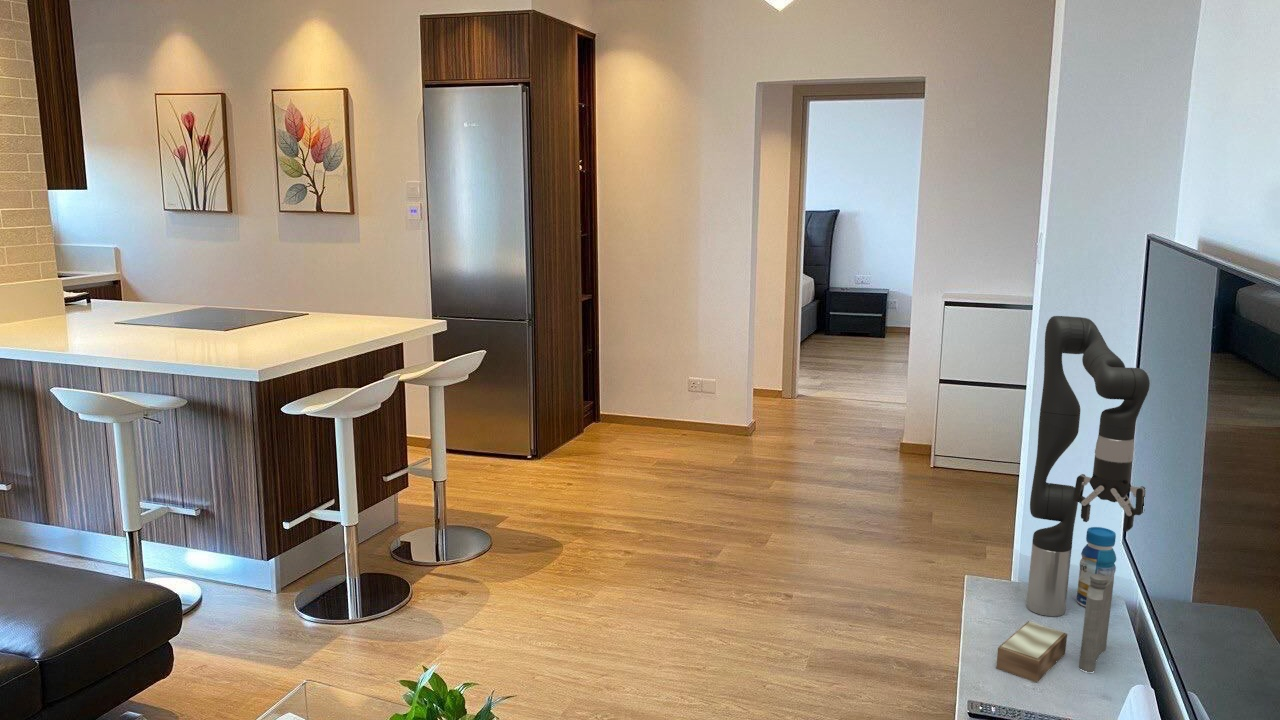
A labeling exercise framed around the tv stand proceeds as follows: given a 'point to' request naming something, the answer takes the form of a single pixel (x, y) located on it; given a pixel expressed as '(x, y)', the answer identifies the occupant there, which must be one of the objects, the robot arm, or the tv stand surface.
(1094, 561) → the beverage bottle
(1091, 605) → the hip flask
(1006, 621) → the tv stand surface
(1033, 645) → the walnut plinth
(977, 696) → the tv stand surface
